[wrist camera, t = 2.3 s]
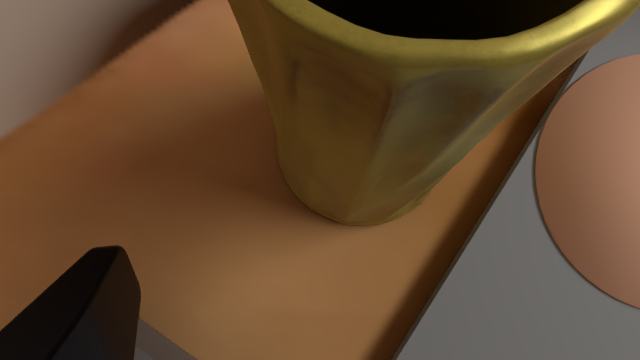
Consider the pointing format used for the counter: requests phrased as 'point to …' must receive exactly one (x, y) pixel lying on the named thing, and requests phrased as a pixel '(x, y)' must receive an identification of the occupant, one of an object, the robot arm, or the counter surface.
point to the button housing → (156, 345)
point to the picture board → (554, 233)
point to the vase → (403, 86)
